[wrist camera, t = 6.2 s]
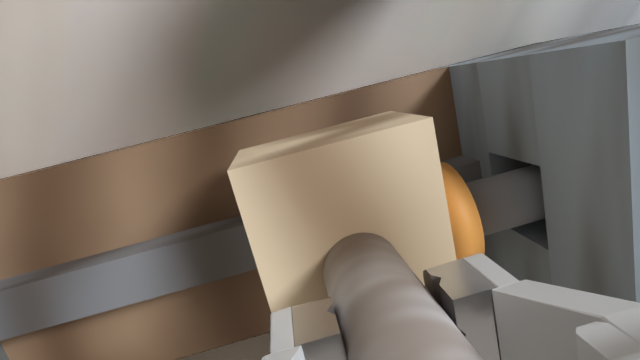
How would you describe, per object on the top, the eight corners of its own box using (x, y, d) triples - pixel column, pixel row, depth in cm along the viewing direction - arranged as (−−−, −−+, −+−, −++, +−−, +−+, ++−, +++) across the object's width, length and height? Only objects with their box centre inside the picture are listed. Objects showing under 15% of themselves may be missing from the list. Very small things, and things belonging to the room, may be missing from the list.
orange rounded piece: (561, 116, 16) (657, 124, 12) (569, 206, 17) (659, 240, 13) (400, 159, 15) (443, 183, 11) (417, 249, 16) (463, 298, 12)
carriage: (390, 110, 15) (616, 144, 5) (425, 290, 17) (636, 562, 7) (239, 150, 14) (170, 266, 5) (292, 329, 16) (322, 672, 7)
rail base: (533, 43, 18) (829, -13, 9) (551, 233, 21) (798, 356, 11) (-165, 220, 16) (-808, 408, 7) (-53, 407, 19) (-404, 745, 9)
